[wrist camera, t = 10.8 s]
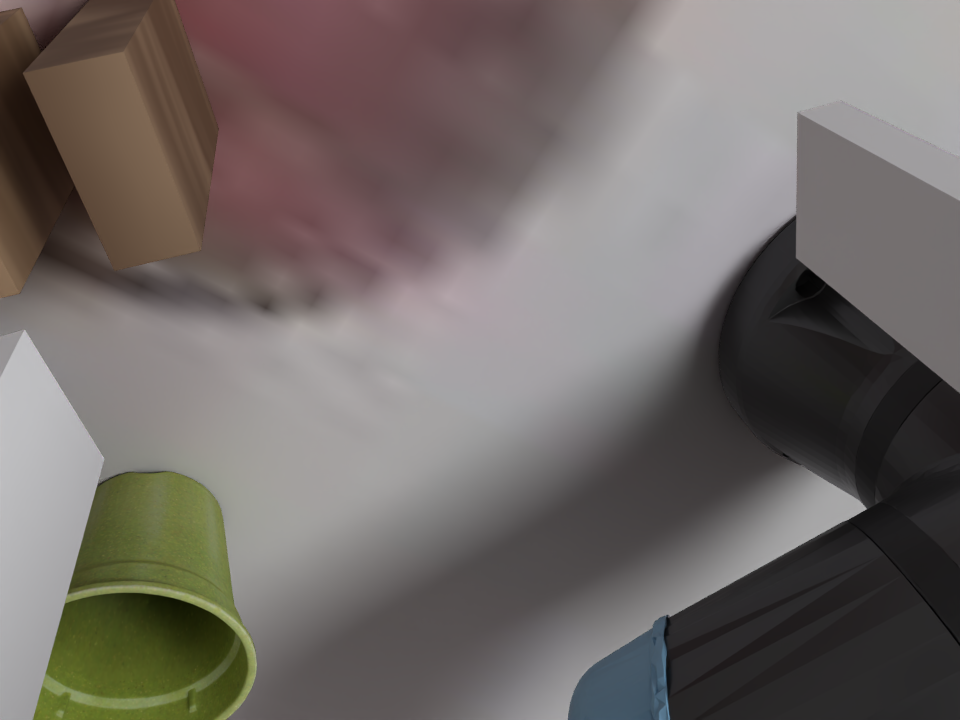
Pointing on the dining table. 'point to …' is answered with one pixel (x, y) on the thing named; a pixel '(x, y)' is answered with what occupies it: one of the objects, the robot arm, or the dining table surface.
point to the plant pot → (150, 611)
